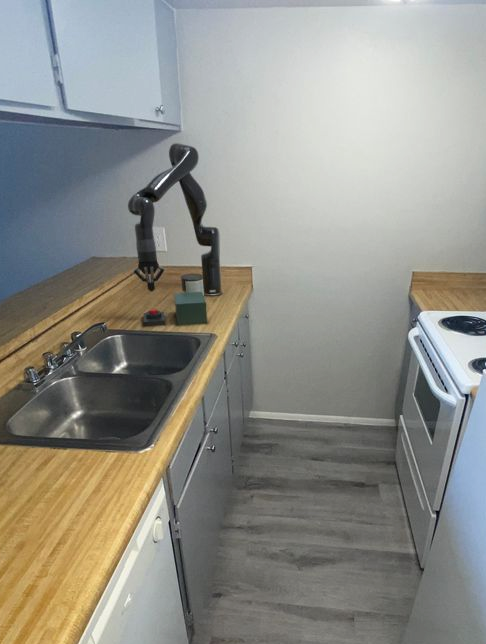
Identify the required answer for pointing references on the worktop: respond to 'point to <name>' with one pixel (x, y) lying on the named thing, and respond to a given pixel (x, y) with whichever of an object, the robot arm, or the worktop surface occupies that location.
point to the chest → (191, 314)
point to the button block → (154, 319)
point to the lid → (189, 298)
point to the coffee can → (192, 283)
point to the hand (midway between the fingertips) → (151, 290)
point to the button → (153, 311)
